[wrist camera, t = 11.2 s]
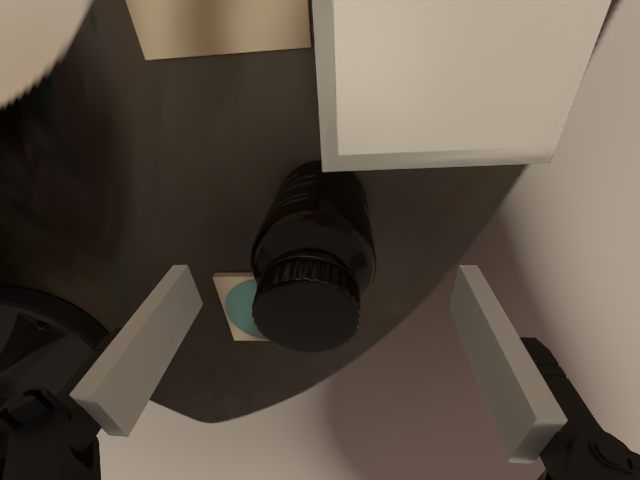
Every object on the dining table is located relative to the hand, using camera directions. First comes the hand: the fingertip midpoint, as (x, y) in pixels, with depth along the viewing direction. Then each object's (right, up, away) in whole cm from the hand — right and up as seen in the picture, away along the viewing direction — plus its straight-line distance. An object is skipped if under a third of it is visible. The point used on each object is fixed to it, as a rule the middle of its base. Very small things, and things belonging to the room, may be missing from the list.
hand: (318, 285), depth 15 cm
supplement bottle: (0, +5, +8) cm, 10 cm away
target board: (-5, -5, +15) cm, 16 cm away
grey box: (+5, +14, +2) cm, 15 cm away
